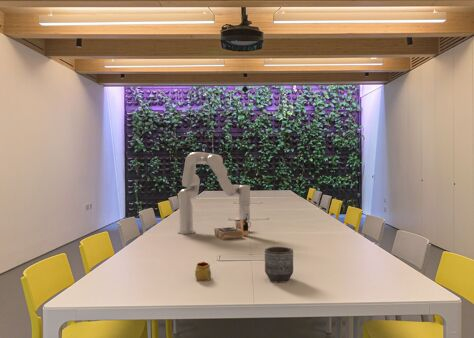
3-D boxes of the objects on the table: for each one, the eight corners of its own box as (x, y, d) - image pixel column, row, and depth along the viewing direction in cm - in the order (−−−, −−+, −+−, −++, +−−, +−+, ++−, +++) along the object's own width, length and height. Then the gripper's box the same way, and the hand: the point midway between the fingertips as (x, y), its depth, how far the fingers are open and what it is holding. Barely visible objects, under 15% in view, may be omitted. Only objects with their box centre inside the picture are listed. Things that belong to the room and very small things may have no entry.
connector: (240, 234, 270) (240, 217, 270) (246, 233, 272) (246, 217, 271) (242, 235, 266) (242, 218, 266) (248, 234, 268) (248, 218, 268)
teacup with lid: (234, 232, 283) (234, 216, 282) (235, 230, 292) (235, 214, 291) (251, 232, 281) (250, 216, 281) (251, 230, 291) (251, 214, 290)
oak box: (214, 235, 271) (214, 227, 271) (233, 234, 276) (233, 226, 276) (222, 240, 255) (222, 231, 255) (242, 238, 260) (242, 230, 260)
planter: (276, 273, 178) (276, 245, 177) (299, 278, 169) (298, 249, 169) (259, 279, 169) (258, 250, 169) (281, 285, 160) (281, 254, 160)
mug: (209, 281, 168) (209, 265, 168) (194, 281, 168) (193, 265, 168) (213, 273, 180) (213, 258, 180) (198, 273, 180) (198, 258, 180)
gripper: (235, 202, 275) (235, 228, 275) (243, 204, 259) (243, 232, 260) (245, 201, 278) (245, 227, 278) (254, 204, 262) (254, 231, 262)
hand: (244, 229), depth 269 cm, fingers closed on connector, 4 cm apart
